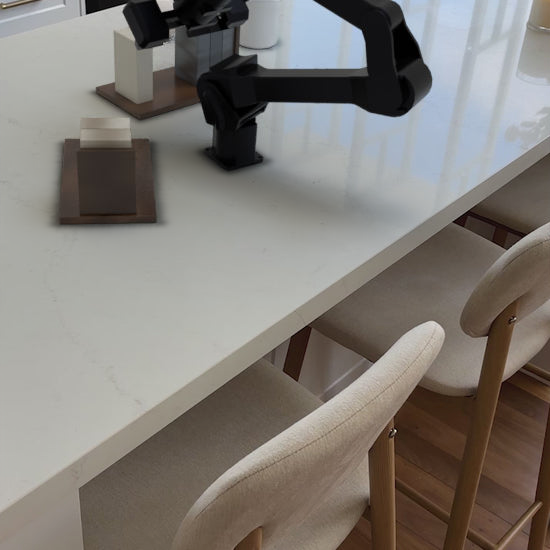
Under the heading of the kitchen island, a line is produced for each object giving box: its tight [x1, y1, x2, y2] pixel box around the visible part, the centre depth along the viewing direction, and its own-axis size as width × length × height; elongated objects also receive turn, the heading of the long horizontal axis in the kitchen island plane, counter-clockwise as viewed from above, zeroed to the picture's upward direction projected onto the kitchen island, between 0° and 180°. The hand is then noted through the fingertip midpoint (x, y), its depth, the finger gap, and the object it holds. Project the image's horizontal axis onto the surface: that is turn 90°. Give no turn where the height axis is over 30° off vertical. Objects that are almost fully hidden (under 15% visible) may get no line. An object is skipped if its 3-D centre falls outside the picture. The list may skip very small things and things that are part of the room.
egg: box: [156, 0, 175, 38], centre depth 162 cm, size 6×6×8 cm
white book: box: [113, 26, 154, 104], centre depth 137 cm, size 6×3×10 cm, turn 43°
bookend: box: [95, 26, 240, 121], centre depth 142 cm, size 12×22×12 cm, turn 133°
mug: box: [239, 0, 282, 50], centre depth 164 cm, size 12×8×10 cm
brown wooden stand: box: [58, 117, 158, 225], centre depth 117 cm, size 12×21×11 cm, turn 9°
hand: (162, 40), depth 130 cm, fingers open, 9 cm apart
